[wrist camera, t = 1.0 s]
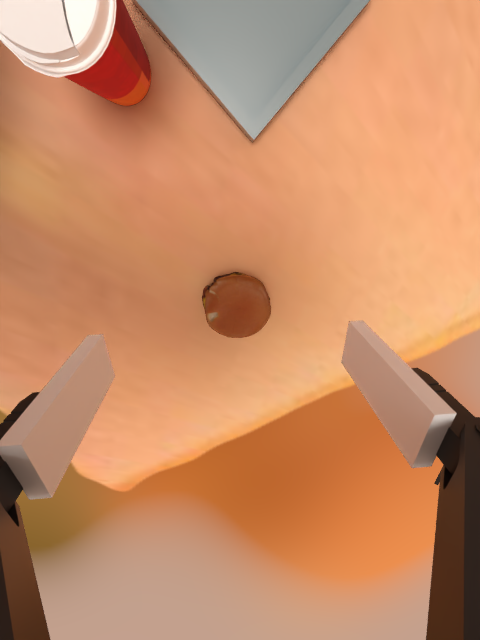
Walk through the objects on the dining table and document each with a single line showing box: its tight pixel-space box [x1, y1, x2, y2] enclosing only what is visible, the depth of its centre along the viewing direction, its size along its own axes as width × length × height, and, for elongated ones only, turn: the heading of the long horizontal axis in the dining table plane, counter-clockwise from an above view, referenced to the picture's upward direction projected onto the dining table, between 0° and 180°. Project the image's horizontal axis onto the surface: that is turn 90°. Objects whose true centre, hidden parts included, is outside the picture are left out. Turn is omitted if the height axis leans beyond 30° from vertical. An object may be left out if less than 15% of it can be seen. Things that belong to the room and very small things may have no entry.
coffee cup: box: [0, 0, 151, 106], centre depth 21 cm, size 8×8×15 cm
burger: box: [202, 272, 271, 338], centre depth 38 cm, size 10×9×5 cm
